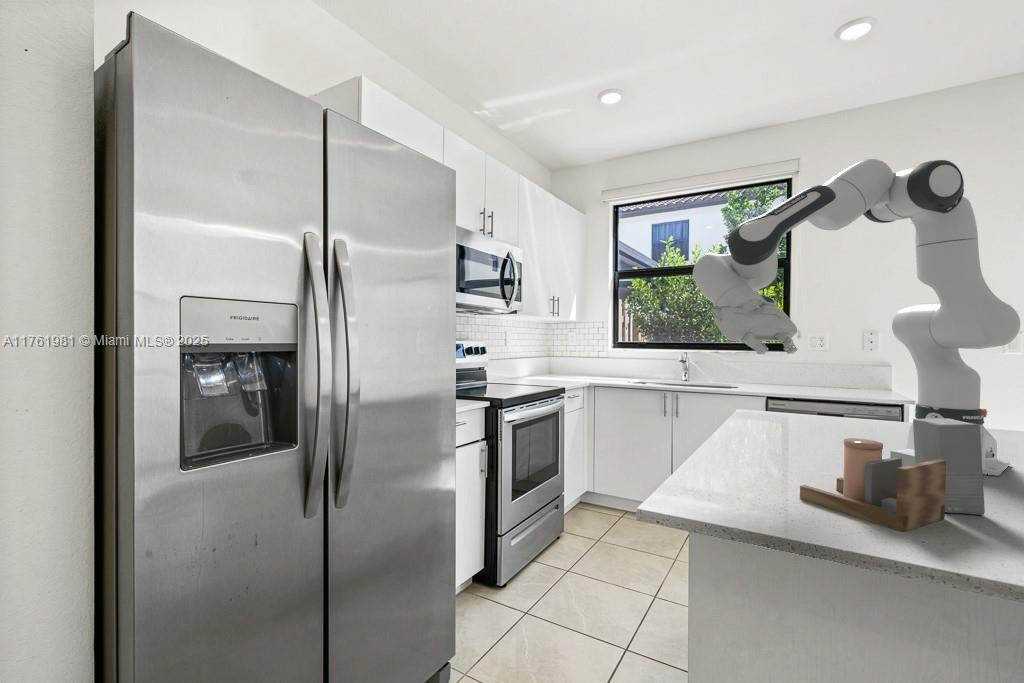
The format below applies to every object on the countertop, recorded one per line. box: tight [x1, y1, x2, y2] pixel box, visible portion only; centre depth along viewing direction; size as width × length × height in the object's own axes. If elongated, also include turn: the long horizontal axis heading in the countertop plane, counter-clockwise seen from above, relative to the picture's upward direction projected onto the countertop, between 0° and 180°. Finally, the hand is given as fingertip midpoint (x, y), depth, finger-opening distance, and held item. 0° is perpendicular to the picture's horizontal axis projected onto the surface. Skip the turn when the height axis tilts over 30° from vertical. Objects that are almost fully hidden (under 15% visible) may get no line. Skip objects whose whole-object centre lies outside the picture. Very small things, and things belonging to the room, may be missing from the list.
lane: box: [799, 459, 946, 533], centre depth 88 cm, size 13×17×10 cm
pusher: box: [865, 457, 902, 512], centre depth 85 cm, size 9×3×9 cm, turn 116°
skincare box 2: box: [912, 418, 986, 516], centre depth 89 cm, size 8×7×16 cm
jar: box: [842, 437, 884, 503], centre depth 89 cm, size 6×6×12 cm
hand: (779, 352), depth 104 cm, fingers open, 8 cm apart
